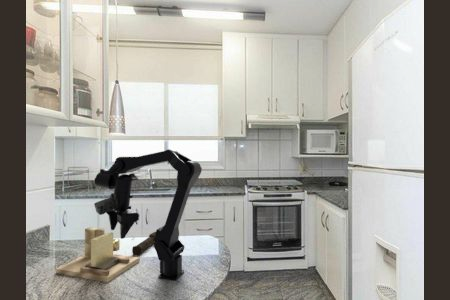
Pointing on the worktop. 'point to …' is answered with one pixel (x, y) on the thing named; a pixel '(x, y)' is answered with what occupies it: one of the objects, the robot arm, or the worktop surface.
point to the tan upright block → (103, 252)
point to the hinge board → (78, 265)
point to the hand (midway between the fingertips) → (117, 234)
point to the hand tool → (143, 245)
